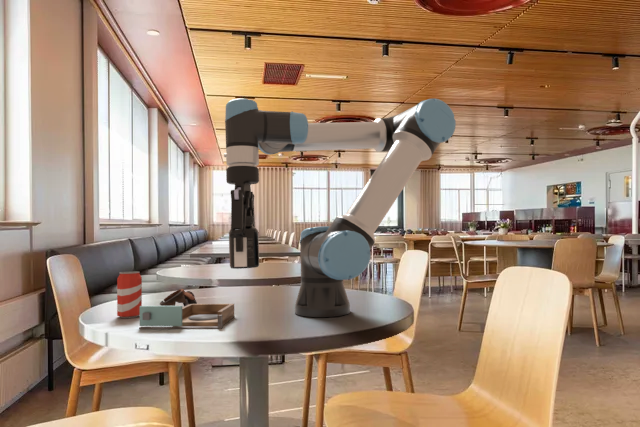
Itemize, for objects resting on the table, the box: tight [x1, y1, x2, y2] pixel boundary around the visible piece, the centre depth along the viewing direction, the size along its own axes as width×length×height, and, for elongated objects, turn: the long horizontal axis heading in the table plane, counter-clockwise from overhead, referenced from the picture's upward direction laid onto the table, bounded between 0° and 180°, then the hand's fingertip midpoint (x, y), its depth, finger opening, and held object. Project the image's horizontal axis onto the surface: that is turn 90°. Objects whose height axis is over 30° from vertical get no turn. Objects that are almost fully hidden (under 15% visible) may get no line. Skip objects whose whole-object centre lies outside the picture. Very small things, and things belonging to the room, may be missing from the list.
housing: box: [138, 303, 235, 330], centre depth 114 cm, size 20×15×4 cm
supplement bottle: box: [228, 216, 260, 270], centre depth 106 cm, size 7×7×12 cm
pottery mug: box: [159, 288, 198, 307], centre depth 125 cm, size 12×10×8 cm
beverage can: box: [116, 271, 143, 319], centre depth 124 cm, size 6×6×12 cm
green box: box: [139, 305, 183, 327], centre depth 107 cm, size 10×2×5 cm, turn 87°
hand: (244, 265), depth 106 cm, fingers closed on supplement bottle, 7 cm apart
